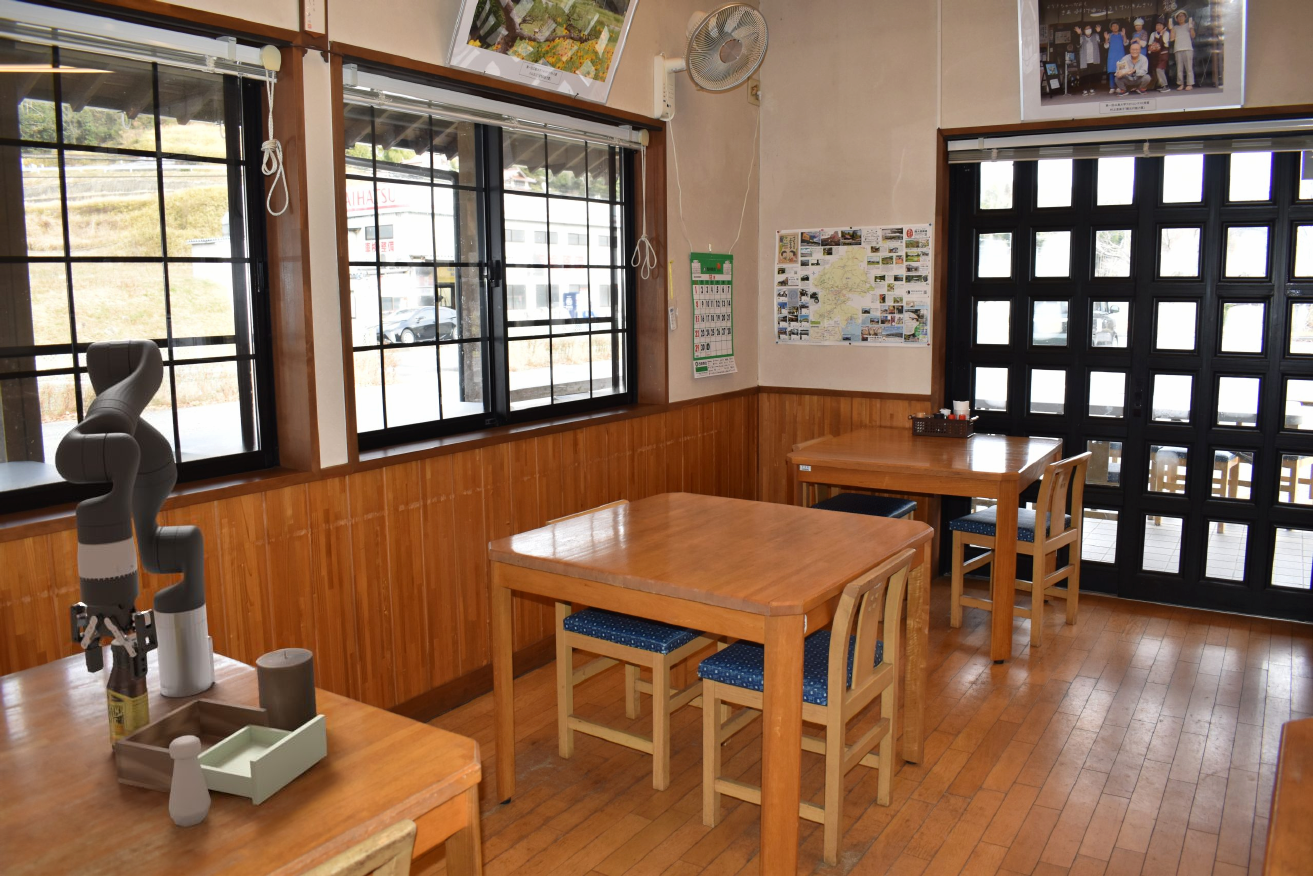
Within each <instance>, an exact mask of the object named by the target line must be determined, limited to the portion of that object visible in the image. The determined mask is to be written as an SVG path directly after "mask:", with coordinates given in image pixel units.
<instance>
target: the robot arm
mask: <svg viewBox="0 0 1313 876" xmlns="http://www.w3.org/2000/svg"><path fill="white" fill-rule="evenodd" d="M85 360H86V361H85V363H86V368H87V373H88V376H89V381H90V383H91V387H92V388H93V389H92V390H93V392H94V394H95V398H94V400H92V402H90V405H89V406H88V408H87V411H86V413H85V416H84V419H83V420H81V422H79V423H78V424H76V425H75V426H74V427H72V429H70V430H69V431H68V432H67V433H66V434H65V435H64V436H63V438H62V439H61V440H60V442H59V443H58V446H57V448H56V452H55V453H54V454H55V455H54V465H55V469H56V471H57V473H58V474H59V476H60V477H61V478H62V479H63V480H65V481H66V482H69V483H72V484H81V485H82V484H96V483H97V484H98V483H113V484H112V485H113V487H112V490H110V492H109V493H107V494H104V495H100V496H97V497H92V498H88V499H85V500H83V501H80V502H79V503H78V504H77V506H76V508H75V522H76V525H75V526H76V534H77V536H76V537H77V568H78V580H79V591H80V600H81V601H80V602H77V603H75V604H71V606H70V610H69V611H70V630H71V631H70V632H71V641H72V643H73V644H79V645H81V648H82V649H84V656H85V666H86V668H87V672H88V673H90V674H91V673H92V674H94V673H98V672H99V671H102V670H103V669H104V654H103V644H101V642H102V641H103V639H104V638H106V637H109V638H111V639H114V640H115V639H117V641H118V642H119V644H120V645H124V646H125V648H126V649H127V651H128V653H129V654H130V657H129V660H130V673H131V679H132V680H139V679H141V678H144V677H145V676H146V677H147V675H148V671H149V668H148V667H149V665H148V655H147V654H148V653H149V652H151V651H154V650H156V651H157V663H158V675H159V678H158V679H159V688H160V694H161V695H163V696H165V697H168V698H184V697H189V696H194V695H199V694H200V693H203V692H205V691H207V690H208V689H210V688H211V687H212V684H213V683H214V682H215V681H216V676H215V664H214V663H215V661H214V650H213V649H214V647H213V637H212V636H210V635H209V631H208V620H207V619H208V618H207V607H206V604H207V603H206V586H205V584H206V582H205V550H204V549H205V548H204V546H205V544H204V536H203V533H202V530H201V528H199V526H196V525H172V526H160V525H159V524H158V522H157V516H158V514H159V512H160V511H161V509H162V506H163V505H164V504H165V501H166V500H167V499H168V497H169V496H170V494H171V493H172V491H173V489H174V487H175V485H176V483H177V480H178V479H177V478H178V469H177V465H176V460H175V457H174V452H173V449H172V448H173V447H172V446H171V444H170V442H169V440H167V438H166V437H165V436H164V434H163V433H161V431H159V430H158V429H157V428H156V427H154V425H153V424H151V423H149V422H148V421H146V420H145V419H144V418H143V417H141V415H142V413H143V412H144V410H145V409H146V407H147V406H148V405H149V404H150V402H151V401H152V400H153V398H154V397H155V395H156V394H157V393H158V391H159V390H160V388H161V386H162V383H163V380H164V379H163V378H164V373H165V372H164V367H165V366H164V361H163V356H162V353H161V350H160V348H159V345H158V344H157V343H156V342H155V341H153V340H152V339H151V340H150V339H146V338H130V339H111V340H101V341H100V340H99V341H95V342H92V343H90V344H89V346H88V348H87V349H86V354H85ZM133 525H134V526H133ZM133 527H134V530H135V531H134V532H135V538H136V542H137V549H136V545H135V542H134V533H133ZM137 550H138V554H139V558H140V562H141V565H142V567H143V569H144V570H145V571H146V572H147V573H149V574H150V575H151V574H152V575H168V574H170V575H171V574H183V579H182V580H180V581H179V582H177V583H176V584H172V585H170V586H166V587H165V588H162V589H161V590H159V591H157V592H156V593H155V594H154V595H153V598H152V599H153V600H152V603H153V609H151V608H150V609H147V610H145V611H138V609H137V607H136V601H137V598H138V597H139V596H140V583H139V582H140V581H139V572H138V571H139V570H138V569H139V567H138V558H137V557H138V556H137ZM81 628H82V632H81ZM131 631H132V633H130V632H131ZM147 638H148V642H147ZM132 641H135V642H136V643H137V645H138V646H137V647H135V646H134V644H133V642H132Z"/></svg>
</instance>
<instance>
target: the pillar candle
mask: <svg viewBox="0 0 1313 876" xmlns="http://www.w3.org/2000/svg"><path fill="white" fill-rule="evenodd" d="M255 663H256V672H257V673H256V675H257V686H258V687H257V689H258V705H259V707H258V708H263V709H267V711H268V727H269V728H274V729H280V730H285V731H291V732H294V731H295V730H297V729H298V728H300V727H301V726H303V725H305V724H306V723H308V722H309V721H311V720H312V719H314V718H315V717H317V716H318V714H317V713H318V712H317V710H318V709H317V698H316V687H315V686H316V683H315V668H314V653H313V652H312V651H311V650H309V649H307V648H306V649H305V648H298V647H294V648H293V647H291V648H282V649H278V650H275V651H270V652H267V653H264V654H263V655H261V656H259V657H258V658H257V660H256V661H255Z"/></svg>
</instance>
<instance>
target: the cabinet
mask: <svg viewBox="0 0 1313 876" xmlns="http://www.w3.org/2000/svg"><path fill="white" fill-rule="evenodd" d="M249 724H251V725H257V726H263V727H268V711H267V709H263V708H260V707H256V706H251V705H245V704H238V703H233V702H227V701H220V700H215V699H210V698H209V699H208V698H204V697H196V698H194V699H192V700H191V701H189V702H187V703H185V704H183V705H181V706H179V707H178V708H175V709H174V710H172V711H170V712H168V713H166V714H165V715H163V716H161V717H158V719H156V720H154V721H150V723H149V724H148V725H146V726H144V727H142V728H140V729H138V730H136V731H135V732H133V733H131V734H129V735H127V736H125V737H123V738H121V739H120V740H118V741H116V742H114V743H115V752H114V753H115V763H116V774H117V775H116V776H117V783H118V782H119V784H123V783H124V784H125V785H128V784H131V785H130V786H133V785H135V786H134V787H138V786H139V787H138V788H142V787H144V788H143V789H148V790H152V791H157V792H161V793H166V792H167V794H170V793H171V785H172V778H173V770H174V761H175V759H173V758H171V756H170V752H169V746H170V744H171V743H172V741H173V740H175V739H177V738H179V737H182V736H188V735H189V736H195V737H197V738H199V740H200V743H201V750H200V752H199V753H198V754H197V756H198V755H200V754H201V753H203V752H205V751H206V750H208V749H210V748H211V747H213V746H214V745H216V744H218V743H219V742H221V741H223V740H224V739H226V738H228V737H229V736H231V735H233V734H234V733H236V732H237V731H239V730H241V729H242V728H244V727H246V726H247V725H249ZM268 728H269V727H268ZM124 784H123V785H124Z"/></svg>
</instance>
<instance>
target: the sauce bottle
mask: <svg viewBox="0 0 1313 876" xmlns="http://www.w3.org/2000/svg"><path fill="white" fill-rule="evenodd" d="M132 642H133V644H134V646H135V647H137V646H138V645H137V643H136V642H135V641H132ZM110 650H111V652H112V667H111V670H110V673H109V675H108V676H109V677H108V681H107V684H106V686H105V687H106V688H105V689H106V701H107V713H108V715H107V716H108V728H109V741H110V743H111V744H110V745H111V750H112V751H113V752H114V753H115V743H114V742H116V741H118V740H120V739H121V738H123V737H125V736H127V735H129V734H131V733H133V732H135V731H136V730H138V729H140V728H142V727H144V726H146V725H148V724H149V723H151V721H150V706H149V705H150V704H149V691H148V685H147V675H146V676H145V677H144V678H141V679H139V680H132V679H131V673H130V660H129V657H130V654H129V653H128V651H127V649H126V648H125V646H124V645H120V644H119V642H118V641H117V639H115V638H114V639H113V640H112V641H111V643H110Z"/></svg>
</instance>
